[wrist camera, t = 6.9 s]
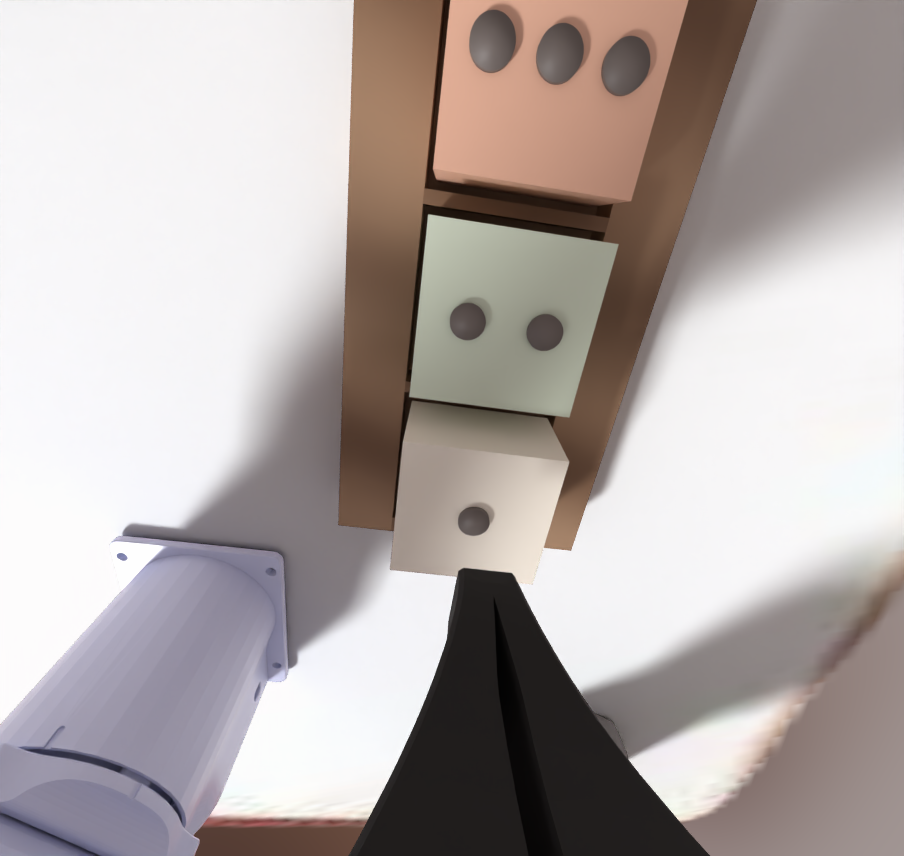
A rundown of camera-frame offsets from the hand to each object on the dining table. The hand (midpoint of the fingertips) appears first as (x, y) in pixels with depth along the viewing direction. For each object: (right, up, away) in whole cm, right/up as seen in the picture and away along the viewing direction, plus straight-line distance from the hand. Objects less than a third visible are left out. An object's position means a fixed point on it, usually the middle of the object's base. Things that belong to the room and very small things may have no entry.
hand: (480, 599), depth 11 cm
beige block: (0, +3, +6) cm, 6 cm away
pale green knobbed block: (+1, +9, +4) cm, 10 cm away
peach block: (+2, +14, +2) cm, 14 cm away
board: (+1, +9, +5) cm, 10 cm away
